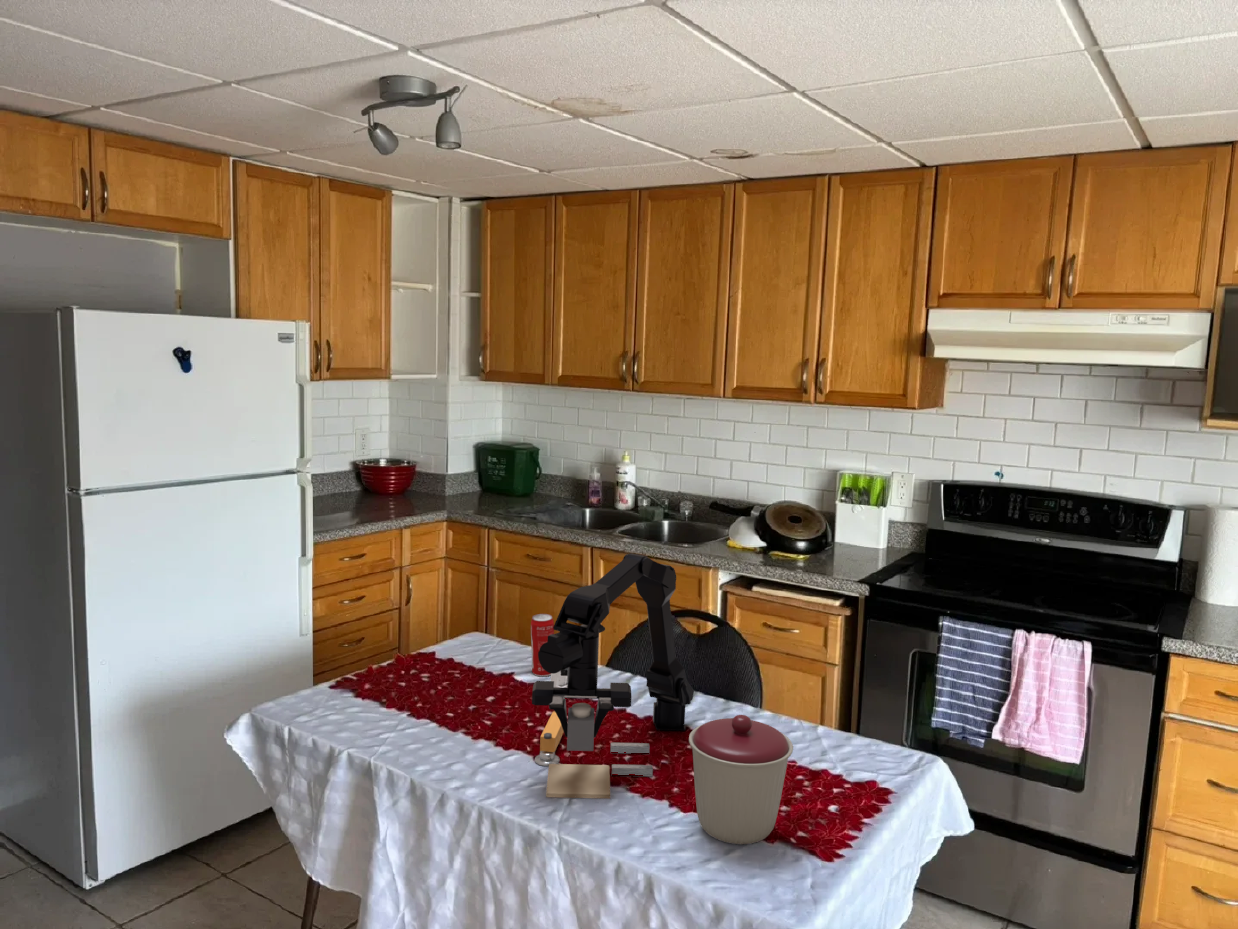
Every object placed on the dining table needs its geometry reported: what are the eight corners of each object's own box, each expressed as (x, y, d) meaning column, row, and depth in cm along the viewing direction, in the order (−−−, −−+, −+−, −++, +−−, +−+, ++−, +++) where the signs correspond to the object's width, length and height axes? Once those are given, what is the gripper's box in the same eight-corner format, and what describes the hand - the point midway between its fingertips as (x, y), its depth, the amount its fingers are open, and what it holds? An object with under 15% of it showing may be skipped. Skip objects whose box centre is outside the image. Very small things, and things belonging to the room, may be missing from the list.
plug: (593, 737, 183) (594, 700, 182) (593, 751, 177) (594, 713, 176) (567, 736, 183) (568, 700, 182) (566, 750, 177) (568, 712, 176)
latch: (552, 724, 202) (553, 708, 202) (566, 726, 202) (566, 710, 202) (539, 752, 189) (539, 735, 188) (553, 754, 189) (554, 737, 188)
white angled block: (538, 691, 219) (551, 656, 222) (561, 701, 227) (574, 667, 229) (549, 695, 217) (563, 659, 220) (573, 705, 225) (585, 670, 227)
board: (609, 769, 187) (609, 765, 187) (610, 798, 175) (610, 794, 175) (548, 767, 187) (549, 764, 187) (546, 797, 175) (546, 793, 175)
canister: (669, 840, 162) (675, 724, 159) (703, 795, 178) (709, 689, 175) (772, 868, 154) (780, 747, 152) (797, 818, 171) (805, 708, 168)
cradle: (648, 750, 196) (649, 742, 196) (652, 776, 185) (652, 767, 185) (536, 748, 195) (536, 739, 195) (532, 773, 184) (533, 765, 184)
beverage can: (558, 671, 240) (560, 614, 238) (545, 679, 234) (547, 621, 232) (538, 667, 242) (539, 611, 240) (525, 675, 236) (526, 617, 234)
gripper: (630, 645, 186) (627, 720, 188) (536, 643, 185) (534, 718, 188) (632, 665, 175) (629, 744, 177) (532, 662, 174) (530, 742, 177)
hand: (580, 736), depth 180 cm, fingers closed on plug, 5 cm apart
